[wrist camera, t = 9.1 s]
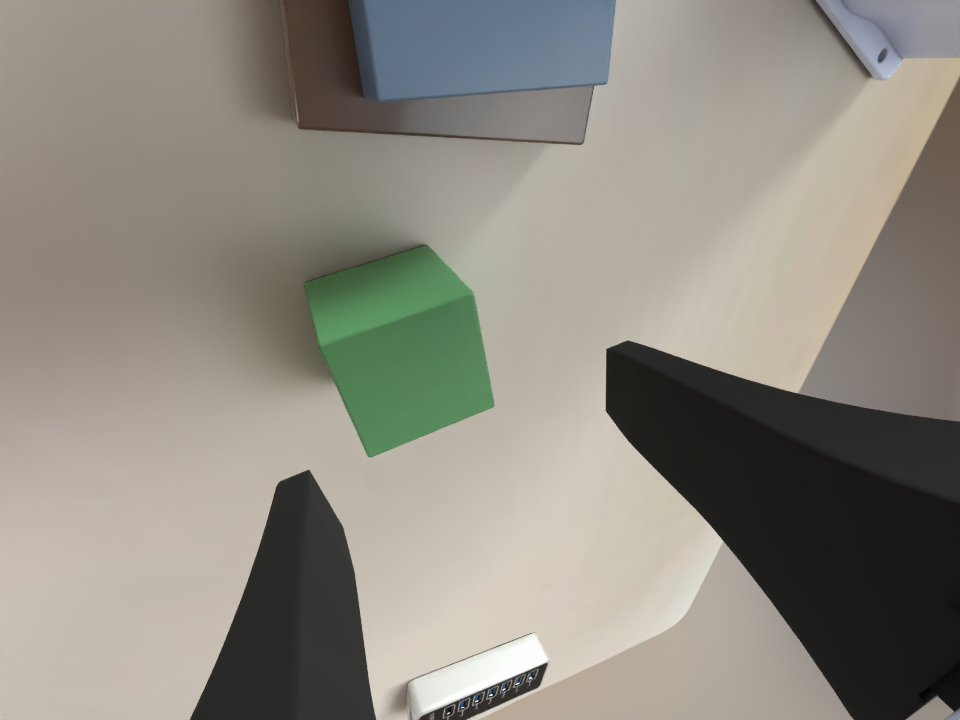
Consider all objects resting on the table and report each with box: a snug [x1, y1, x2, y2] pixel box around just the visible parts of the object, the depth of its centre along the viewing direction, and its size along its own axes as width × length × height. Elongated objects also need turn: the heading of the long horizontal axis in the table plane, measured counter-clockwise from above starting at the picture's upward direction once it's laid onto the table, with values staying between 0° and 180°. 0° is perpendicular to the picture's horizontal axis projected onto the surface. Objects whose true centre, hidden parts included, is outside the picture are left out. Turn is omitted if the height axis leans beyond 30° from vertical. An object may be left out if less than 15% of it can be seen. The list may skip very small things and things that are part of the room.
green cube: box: [304, 245, 494, 457], centre depth 16 cm, size 5×5×5 cm
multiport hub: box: [406, 633, 550, 720], centre depth 35 cm, size 4×11×2 cm, turn 82°
